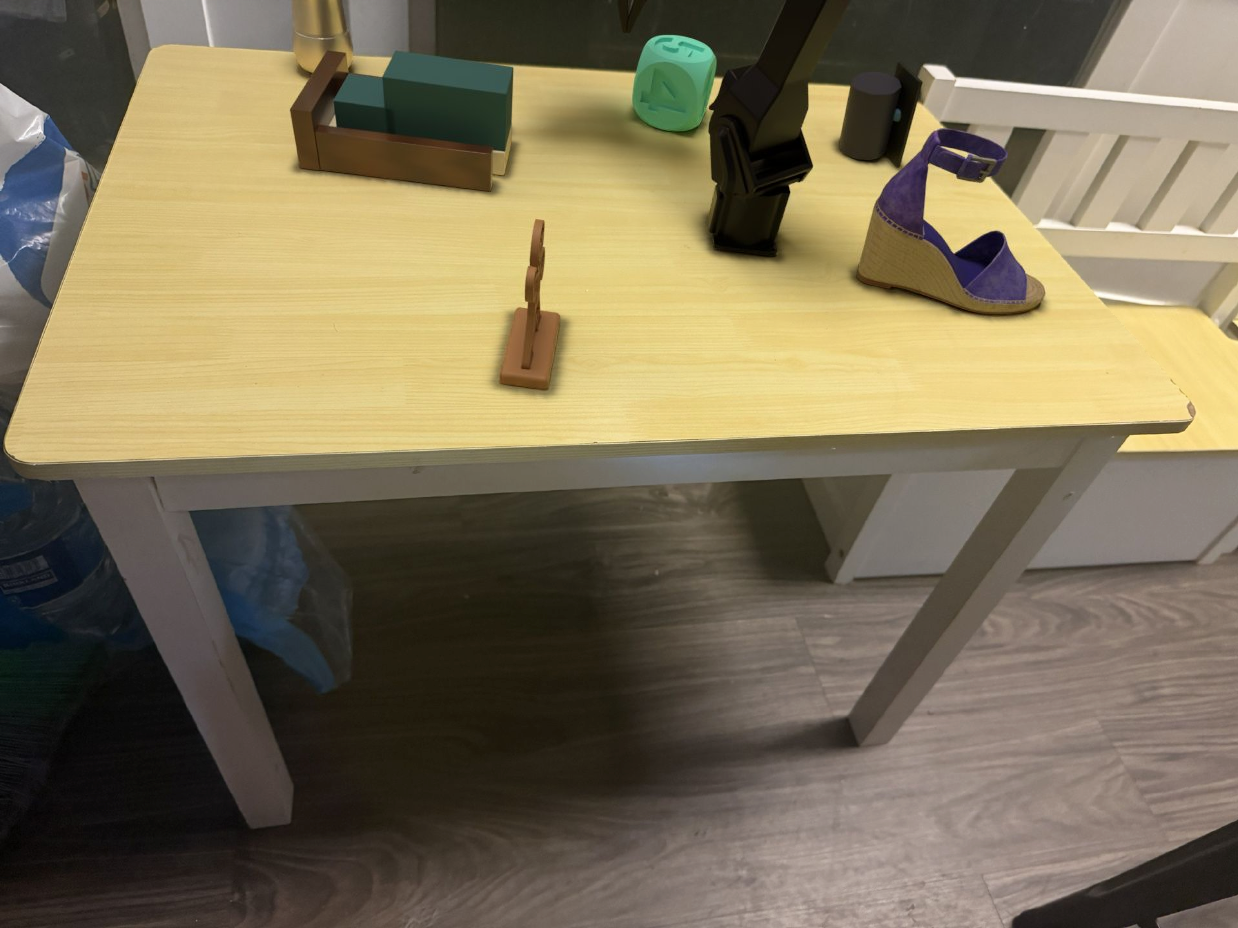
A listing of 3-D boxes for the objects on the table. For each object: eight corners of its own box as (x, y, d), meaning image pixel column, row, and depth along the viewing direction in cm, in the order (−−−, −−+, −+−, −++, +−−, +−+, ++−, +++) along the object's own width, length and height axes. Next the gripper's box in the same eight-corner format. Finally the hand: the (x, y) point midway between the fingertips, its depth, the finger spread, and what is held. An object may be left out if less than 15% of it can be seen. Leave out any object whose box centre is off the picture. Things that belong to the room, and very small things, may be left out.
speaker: (895, 144, 103) (920, 59, 95) (900, 168, 99) (926, 82, 91) (834, 139, 103) (853, 55, 95) (836, 163, 99) (857, 78, 91)
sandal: (1048, 330, 80) (1140, 190, 69) (848, 290, 80) (908, 143, 69) (1033, 282, 85) (1116, 146, 74) (846, 245, 85) (900, 103, 74)
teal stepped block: (511, 144, 91) (513, 65, 84) (504, 176, 86) (506, 95, 80) (345, 122, 89) (335, 40, 83) (329, 153, 84) (317, 69, 78)
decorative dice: (691, 138, 97) (705, 70, 91) (628, 121, 98) (637, 51, 92) (707, 112, 102) (721, 45, 96) (646, 95, 103) (657, 28, 97)
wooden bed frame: (505, 128, 93) (506, 74, 88) (490, 192, 83) (491, 135, 79) (334, 105, 91) (327, 50, 87) (299, 168, 82) (289, 109, 77)
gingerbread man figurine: (515, 314, 71) (520, 188, 62) (560, 321, 71) (571, 195, 62) (498, 383, 65) (502, 253, 56) (547, 390, 65) (558, 262, 56)
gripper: (749, -152, 79) (712, 18, 91) (557, -190, 78) (544, -12, 89) (757, -122, 72) (715, 60, 83) (545, -164, 70) (532, 27, 82)
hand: (626, 32), depth 85 cm, fingers closed
